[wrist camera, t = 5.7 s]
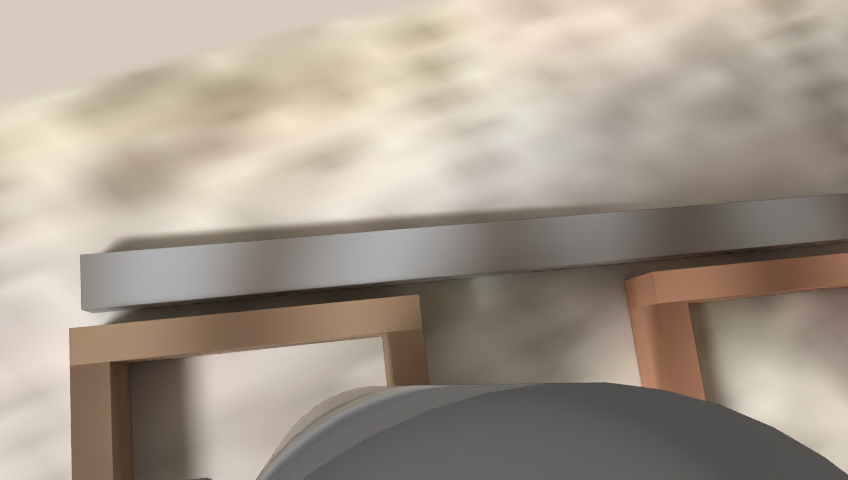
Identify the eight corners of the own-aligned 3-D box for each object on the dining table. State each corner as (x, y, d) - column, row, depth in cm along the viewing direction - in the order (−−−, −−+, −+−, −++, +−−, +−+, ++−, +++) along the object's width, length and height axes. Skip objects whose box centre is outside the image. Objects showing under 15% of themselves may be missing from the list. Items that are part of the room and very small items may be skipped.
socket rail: (855, 198, 25) (899, 183, 23) (934, 533, 23) (990, 547, 21) (90, 260, 21) (67, 248, 19) (101, 685, 19) (76, 721, 17)
